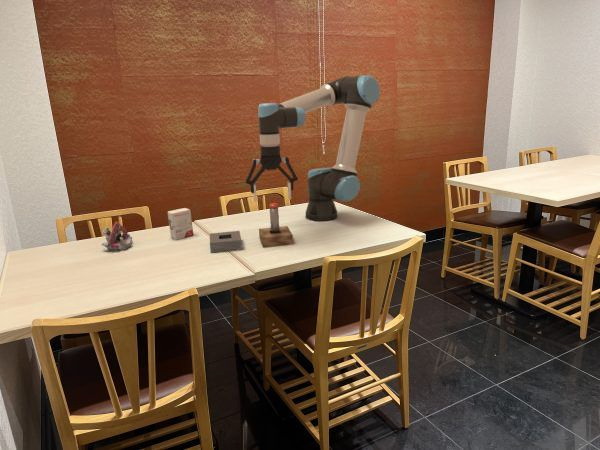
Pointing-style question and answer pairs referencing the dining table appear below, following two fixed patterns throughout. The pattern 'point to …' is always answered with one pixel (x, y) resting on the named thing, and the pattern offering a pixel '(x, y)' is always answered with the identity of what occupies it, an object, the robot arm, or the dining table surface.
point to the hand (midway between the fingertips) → (272, 199)
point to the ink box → (180, 223)
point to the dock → (225, 241)
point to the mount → (275, 237)
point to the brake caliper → (117, 238)
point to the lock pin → (274, 218)
